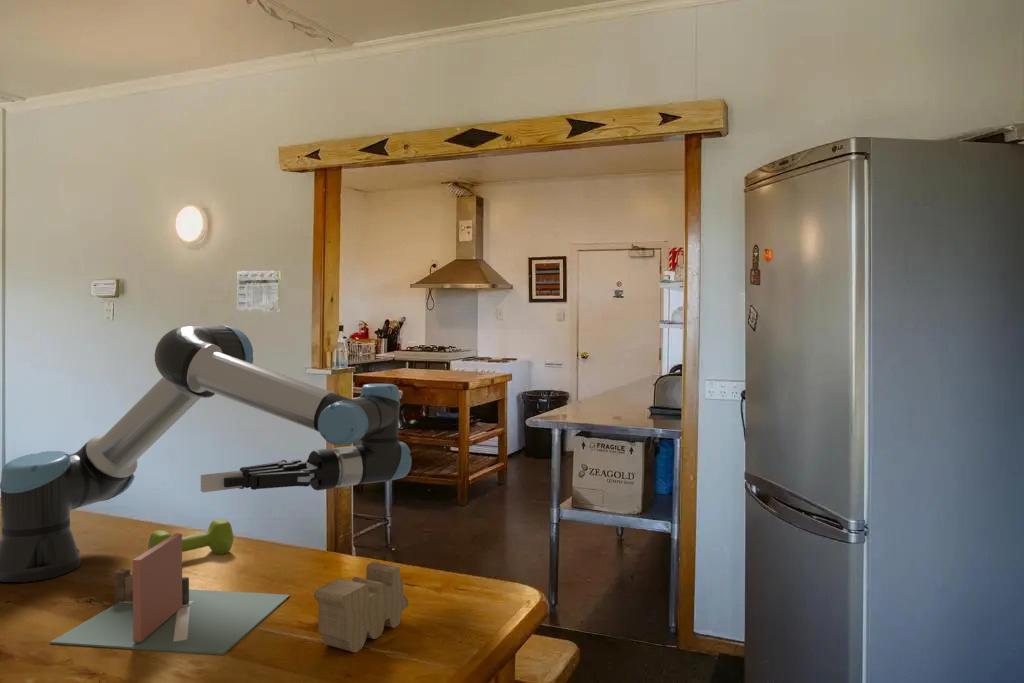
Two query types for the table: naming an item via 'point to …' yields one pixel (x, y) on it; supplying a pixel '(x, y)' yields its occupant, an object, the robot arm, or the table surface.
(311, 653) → the table surface
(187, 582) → the fence wall
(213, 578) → the table surface
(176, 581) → the gate panel
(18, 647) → the table surface
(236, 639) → the card
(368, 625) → the toy train
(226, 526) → the dumbbell
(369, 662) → the table surface
